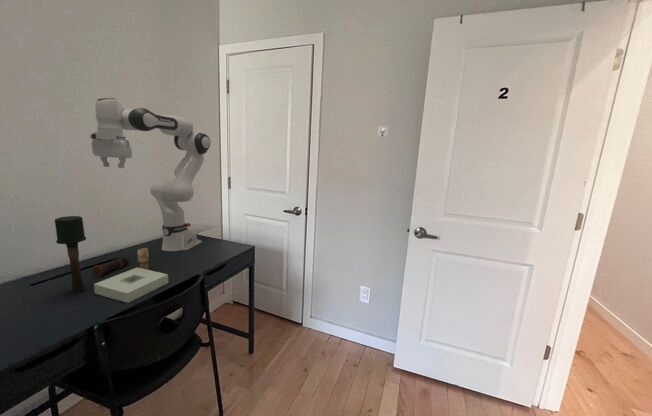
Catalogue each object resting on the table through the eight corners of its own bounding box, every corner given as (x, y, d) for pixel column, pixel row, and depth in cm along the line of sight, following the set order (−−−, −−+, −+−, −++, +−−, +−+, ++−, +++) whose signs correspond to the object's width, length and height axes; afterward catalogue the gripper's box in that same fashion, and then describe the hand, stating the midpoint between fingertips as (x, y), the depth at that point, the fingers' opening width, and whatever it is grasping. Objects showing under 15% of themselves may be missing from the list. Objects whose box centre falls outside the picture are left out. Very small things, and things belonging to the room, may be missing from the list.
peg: (145, 269, 134) (143, 247, 132) (152, 270, 133) (150, 248, 130) (136, 272, 130) (134, 250, 128) (143, 274, 129) (141, 251, 126)
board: (138, 275, 127) (137, 267, 126) (168, 283, 122) (167, 274, 121) (94, 293, 110) (93, 283, 110) (128, 303, 105) (127, 293, 104)
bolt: (128, 268, 139) (98, 280, 124) (121, 262, 139) (90, 273, 125) (132, 259, 137) (102, 270, 123) (125, 253, 138) (94, 263, 123)
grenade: (84, 283, 117) (75, 214, 112) (97, 288, 114) (88, 217, 108) (59, 292, 110) (48, 218, 104) (71, 298, 107) (61, 221, 101)
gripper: (134, 137, 124) (137, 168, 126) (102, 135, 130) (105, 165, 133) (120, 136, 118) (123, 169, 120) (87, 134, 124) (90, 166, 127)
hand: (113, 167), depth 127 cm, fingers open, 8 cm apart
